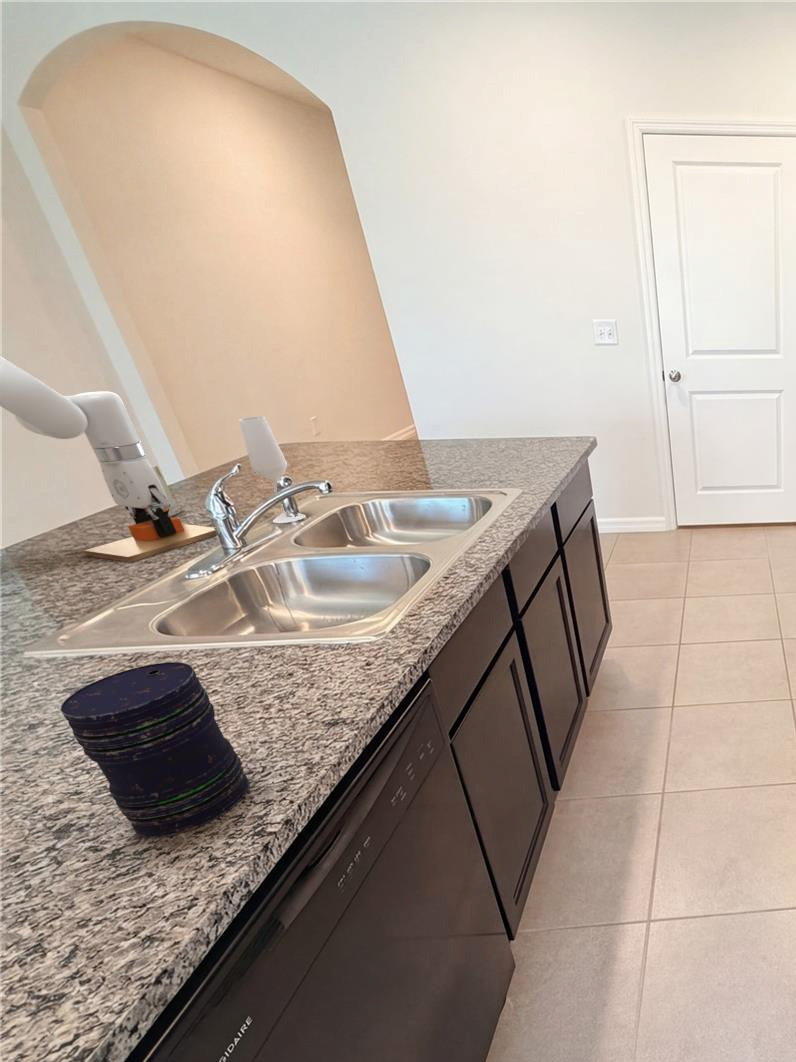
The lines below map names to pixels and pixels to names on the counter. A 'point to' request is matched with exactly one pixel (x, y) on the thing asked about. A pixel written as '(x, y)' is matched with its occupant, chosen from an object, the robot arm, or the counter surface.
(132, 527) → the orange block
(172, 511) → the cosmetic box
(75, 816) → the counter surface
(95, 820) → the counter surface
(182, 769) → the stacked disc cylinder
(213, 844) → the counter surface
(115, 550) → the base pad
